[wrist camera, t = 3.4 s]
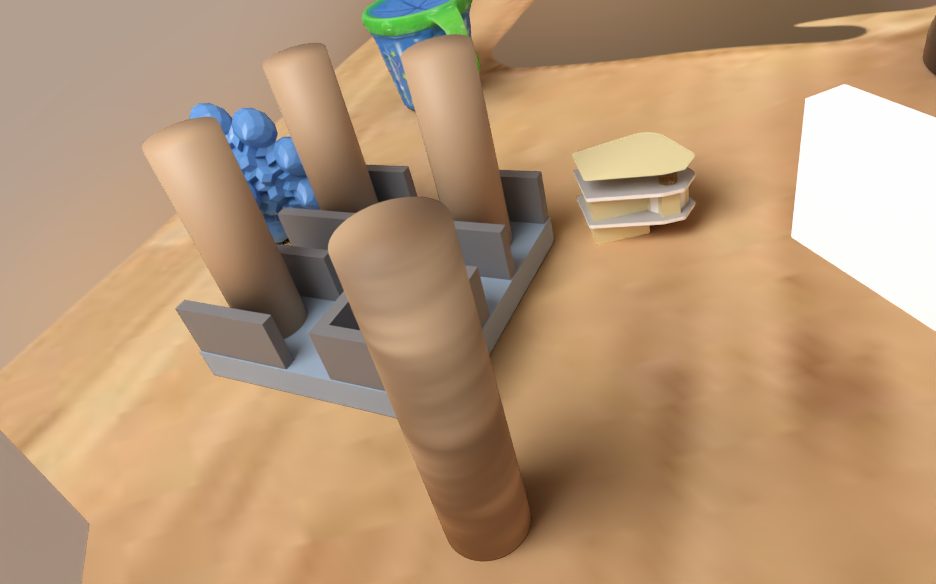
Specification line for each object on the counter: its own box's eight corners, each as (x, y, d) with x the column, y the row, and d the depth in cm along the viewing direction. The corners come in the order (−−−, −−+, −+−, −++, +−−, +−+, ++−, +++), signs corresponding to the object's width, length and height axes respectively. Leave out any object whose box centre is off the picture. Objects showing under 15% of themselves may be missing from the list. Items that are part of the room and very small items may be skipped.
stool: (554, 240, 47) (519, 20, 37) (446, 429, 35) (359, 182, 26) (353, 223, 54) (284, 36, 45) (213, 374, 43) (83, 167, 34)
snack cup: (370, 96, 75) (340, 2, 69) (454, 64, 78) (433, -30, 71) (422, 141, 63) (392, 33, 57) (519, 102, 66) (500, -7, 60)
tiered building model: (579, 283, 43) (569, 210, 40) (552, 211, 50) (542, 144, 47) (736, 248, 43) (739, 171, 39) (686, 180, 50) (685, 110, 46)
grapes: (194, 280, 53) (112, 141, 45) (229, 230, 58) (161, 98, 50) (331, 268, 50) (268, 118, 42) (356, 217, 55) (303, 75, 48)
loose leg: (543, 494, 31) (473, 200, 22) (511, 572, 29) (414, 277, 19) (466, 474, 33) (369, 193, 23) (429, 546, 30) (303, 263, 21)
